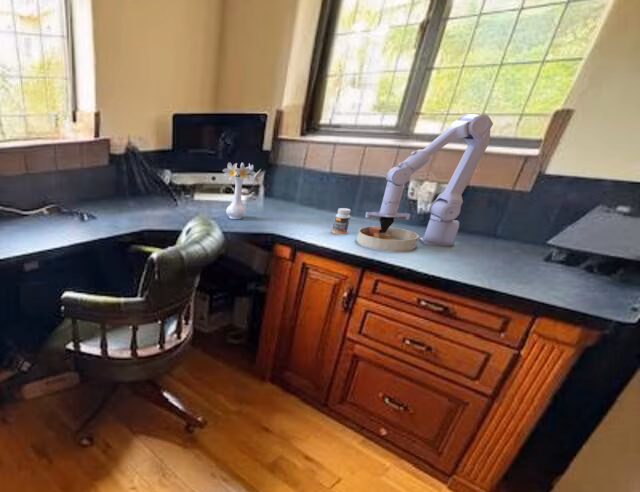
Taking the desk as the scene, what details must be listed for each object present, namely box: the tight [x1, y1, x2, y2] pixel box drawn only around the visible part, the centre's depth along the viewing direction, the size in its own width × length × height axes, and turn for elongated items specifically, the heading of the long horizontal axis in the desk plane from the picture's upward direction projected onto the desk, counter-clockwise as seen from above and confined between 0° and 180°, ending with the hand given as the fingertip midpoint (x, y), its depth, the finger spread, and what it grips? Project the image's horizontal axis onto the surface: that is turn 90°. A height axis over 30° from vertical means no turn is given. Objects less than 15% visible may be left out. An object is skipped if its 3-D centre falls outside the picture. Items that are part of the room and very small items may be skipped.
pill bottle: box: [331, 207, 352, 235], centre depth 174 cm, size 6×6×10 cm
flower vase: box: [221, 162, 263, 220], centre depth 198 cm, size 13×18×25 cm
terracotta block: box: [368, 225, 381, 237], centre depth 166 cm, size 4×4×4 cm
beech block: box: [373, 233, 390, 240], centre depth 159 cm, size 4×4×4 cm
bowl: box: [355, 225, 420, 252], centre depth 161 cm, size 20×20×4 cm
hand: (381, 237), depth 164 cm, fingers closed, pressing on terracotta block
